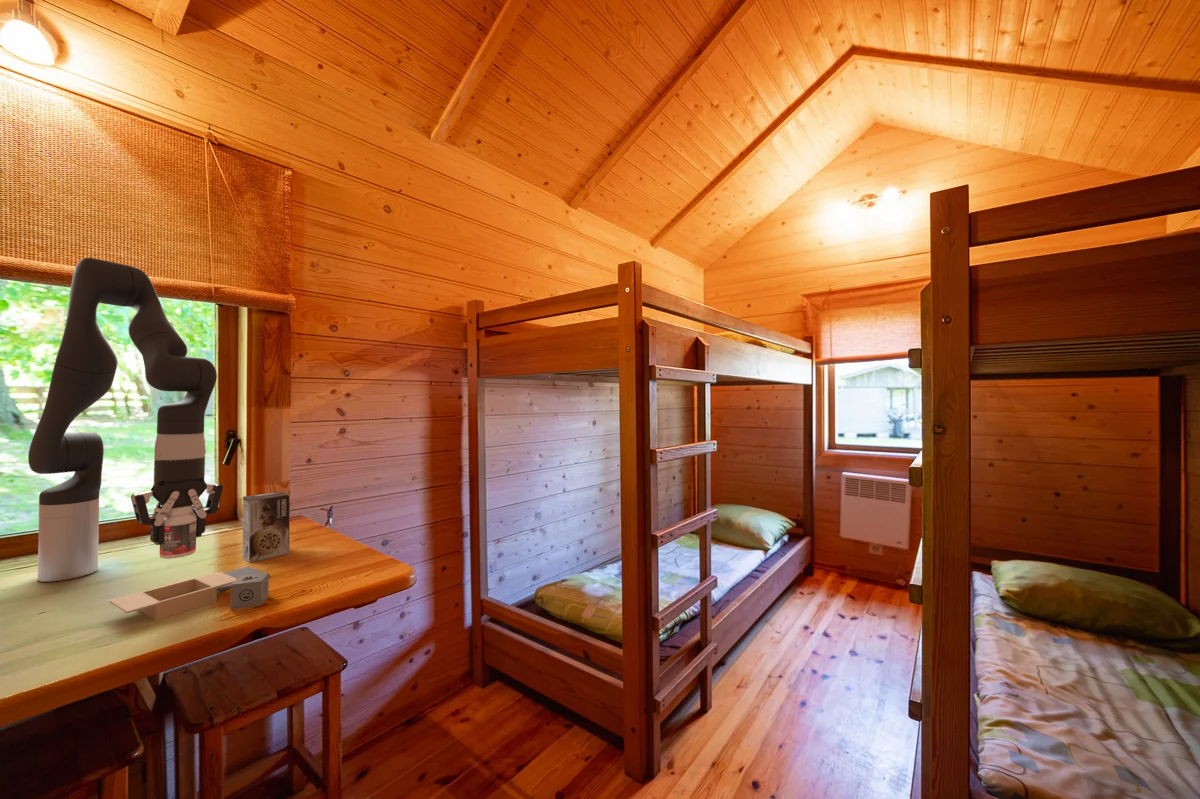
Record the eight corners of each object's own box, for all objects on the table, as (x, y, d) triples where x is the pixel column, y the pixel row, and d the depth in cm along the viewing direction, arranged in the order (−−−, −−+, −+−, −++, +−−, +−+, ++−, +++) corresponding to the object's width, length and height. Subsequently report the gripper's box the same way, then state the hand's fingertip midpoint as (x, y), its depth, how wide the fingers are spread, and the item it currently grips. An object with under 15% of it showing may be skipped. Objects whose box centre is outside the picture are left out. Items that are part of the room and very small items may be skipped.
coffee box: (282, 549, 127) (282, 490, 127) (290, 554, 123) (290, 494, 123) (241, 557, 120) (242, 495, 120) (248, 563, 116) (249, 499, 116)
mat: (197, 582, 103) (197, 580, 103) (248, 568, 112) (248, 566, 112) (217, 591, 98) (217, 589, 98) (269, 576, 107) (269, 574, 107)
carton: (108, 617, 87) (108, 600, 87) (219, 586, 102) (219, 571, 102) (126, 629, 82) (126, 611, 82) (239, 594, 97) (239, 579, 97)
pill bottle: (154, 560, 89) (155, 510, 89) (166, 552, 93) (167, 504, 93) (189, 557, 91) (191, 508, 91) (200, 549, 96) (201, 502, 96)
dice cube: (239, 599, 95) (239, 575, 95) (268, 596, 97) (268, 572, 97) (230, 610, 90) (231, 584, 90) (261, 606, 92) (261, 581, 92)
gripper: (215, 451, 100) (213, 528, 100) (123, 457, 88) (121, 546, 88) (231, 454, 97) (229, 534, 96) (138, 461, 84) (136, 553, 84)
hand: (178, 539), depth 92 cm, fingers closed on pill bottle, 5 cm apart
